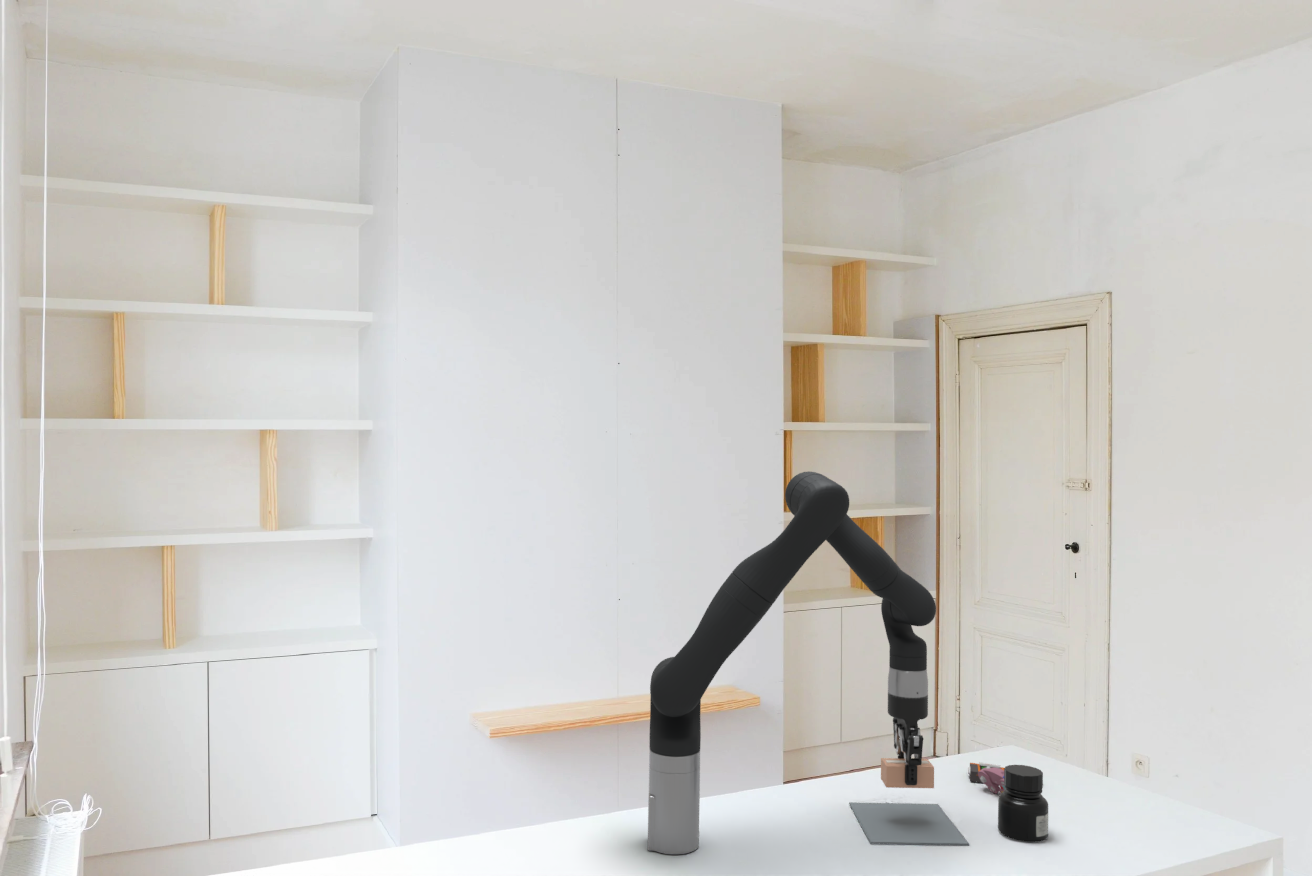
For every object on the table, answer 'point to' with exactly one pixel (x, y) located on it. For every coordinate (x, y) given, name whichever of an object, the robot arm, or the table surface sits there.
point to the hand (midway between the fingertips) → (907, 779)
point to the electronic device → (976, 768)
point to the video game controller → (992, 779)
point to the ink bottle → (1023, 805)
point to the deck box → (896, 774)
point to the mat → (907, 824)
